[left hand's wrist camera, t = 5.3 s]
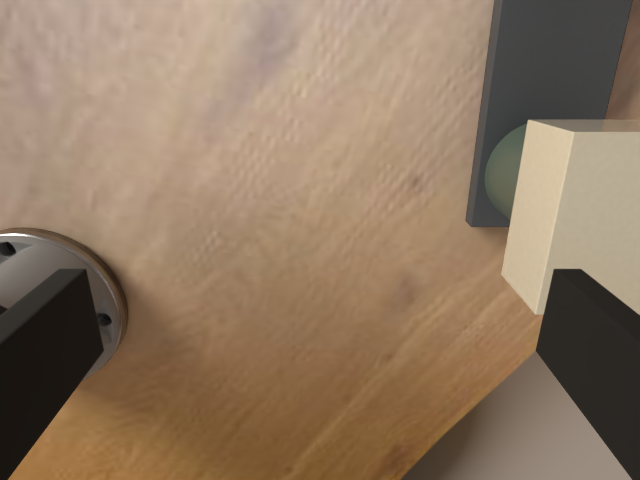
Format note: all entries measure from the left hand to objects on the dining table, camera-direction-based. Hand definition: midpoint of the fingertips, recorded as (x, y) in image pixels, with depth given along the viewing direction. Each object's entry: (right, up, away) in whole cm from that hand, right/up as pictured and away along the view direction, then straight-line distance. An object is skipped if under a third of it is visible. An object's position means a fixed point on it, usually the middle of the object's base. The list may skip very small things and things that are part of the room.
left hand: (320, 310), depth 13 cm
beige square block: (+17, +4, +15) cm, 23 cm away
